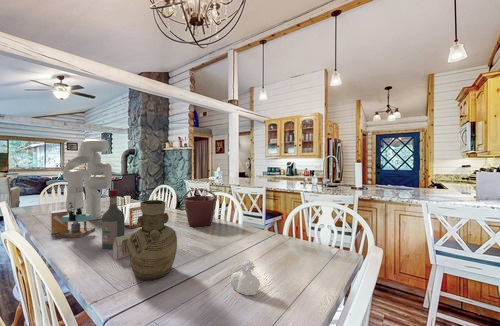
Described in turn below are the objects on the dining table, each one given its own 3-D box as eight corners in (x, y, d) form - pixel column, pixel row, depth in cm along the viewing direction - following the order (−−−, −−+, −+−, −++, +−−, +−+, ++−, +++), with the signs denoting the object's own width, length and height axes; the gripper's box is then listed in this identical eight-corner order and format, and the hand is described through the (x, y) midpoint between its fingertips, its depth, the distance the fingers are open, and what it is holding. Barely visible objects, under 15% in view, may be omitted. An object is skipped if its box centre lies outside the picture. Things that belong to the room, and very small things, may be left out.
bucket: (176, 226, 161) (176, 190, 160) (193, 218, 182) (193, 186, 181) (208, 230, 154) (208, 192, 153) (222, 221, 175) (222, 188, 174)
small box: (51, 234, 142) (51, 213, 142) (50, 231, 147) (50, 211, 146) (68, 231, 148) (68, 211, 147) (67, 229, 152) (66, 209, 152)
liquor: (114, 250, 120) (114, 191, 119) (99, 248, 122) (98, 191, 121) (127, 243, 129) (126, 189, 128) (112, 242, 131) (112, 188, 130)
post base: (73, 230, 151) (73, 214, 150) (94, 230, 150) (94, 214, 150) (54, 237, 137) (54, 220, 136) (78, 237, 136) (78, 220, 136)
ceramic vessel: (133, 263, 106) (133, 197, 105) (180, 261, 108) (181, 196, 107) (112, 286, 87) (112, 206, 86) (171, 284, 89) (171, 205, 88)
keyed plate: (61, 222, 139) (61, 217, 139) (68, 219, 145) (68, 214, 145) (86, 221, 141) (86, 216, 141) (91, 218, 147) (91, 214, 147)
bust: (260, 301, 83) (269, 268, 88) (252, 296, 77) (262, 262, 83) (232, 291, 89) (241, 260, 94) (222, 286, 83) (233, 254, 89)
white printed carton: (112, 258, 110) (112, 237, 110) (127, 253, 116) (127, 233, 116) (117, 260, 108) (117, 239, 108) (131, 255, 114) (131, 235, 114)
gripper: (77, 188, 151) (77, 216, 151) (59, 192, 134) (59, 223, 134) (89, 188, 152) (89, 215, 152) (73, 192, 135) (73, 223, 135)
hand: (75, 219), depth 143 cm, fingers closed on keyed plate, 6 cm apart
